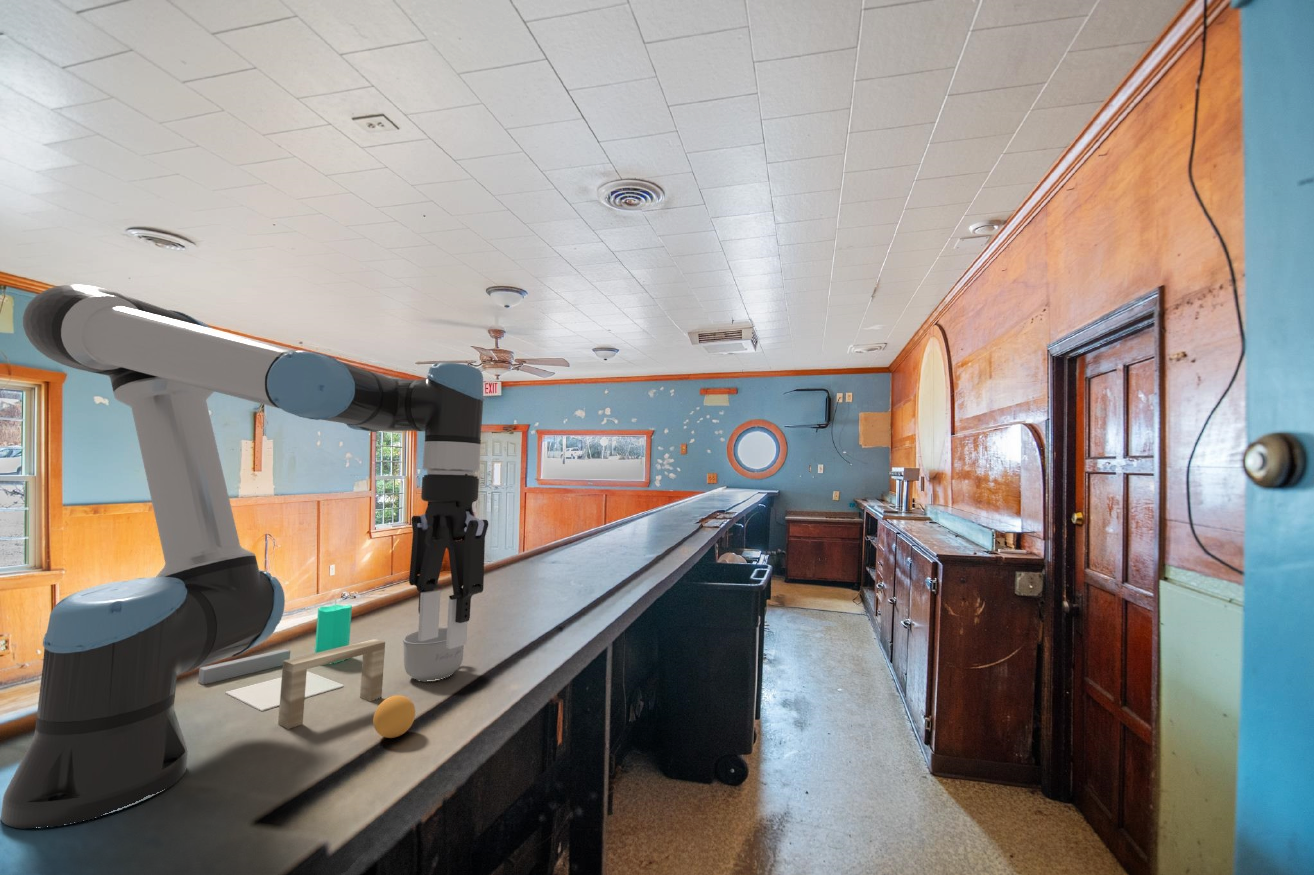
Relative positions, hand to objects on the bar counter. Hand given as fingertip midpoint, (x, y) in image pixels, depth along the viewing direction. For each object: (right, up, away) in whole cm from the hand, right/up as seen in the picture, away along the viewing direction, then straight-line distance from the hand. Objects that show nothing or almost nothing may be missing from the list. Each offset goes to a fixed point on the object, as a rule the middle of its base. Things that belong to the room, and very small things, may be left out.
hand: (441, 642), depth 75 cm
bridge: (-22, -15, +12) cm, 29 cm away
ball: (-8, -12, +4) cm, 15 cm away
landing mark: (-35, -16, +20) cm, 43 cm away
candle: (-37, -17, +36) cm, 54 cm away
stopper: (-48, -16, +28) cm, 57 cm away
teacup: (-13, -17, +29) cm, 36 cm away
